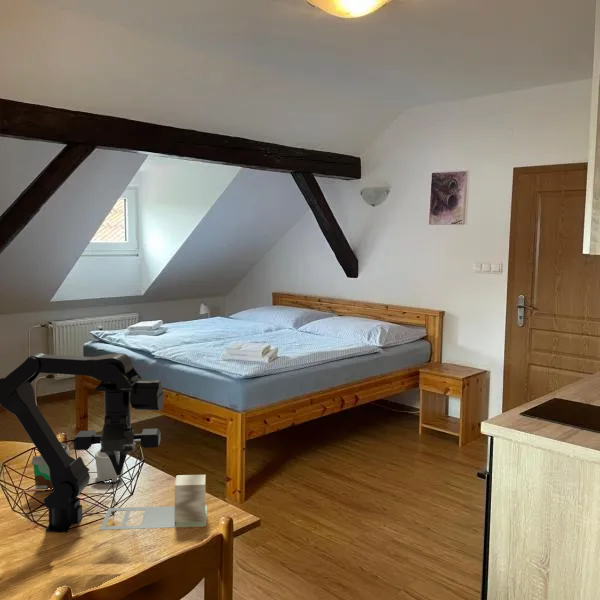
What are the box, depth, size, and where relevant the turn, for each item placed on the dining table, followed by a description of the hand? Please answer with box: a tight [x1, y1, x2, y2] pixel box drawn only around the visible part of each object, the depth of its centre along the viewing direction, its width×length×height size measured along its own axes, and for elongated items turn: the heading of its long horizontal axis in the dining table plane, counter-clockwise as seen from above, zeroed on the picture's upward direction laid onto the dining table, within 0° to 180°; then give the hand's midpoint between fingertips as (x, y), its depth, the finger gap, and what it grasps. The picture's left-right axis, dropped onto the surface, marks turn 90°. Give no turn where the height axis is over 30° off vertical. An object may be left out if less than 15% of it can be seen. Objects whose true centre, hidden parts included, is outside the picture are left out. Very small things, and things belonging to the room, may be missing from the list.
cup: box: [94, 449, 125, 484], centre depth 171 cm, size 11×8×8 cm
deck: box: [99, 504, 208, 531], centre depth 146 cm, size 24×11×2 cm, turn 97°
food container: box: [31, 441, 71, 490], centre depth 165 cm, size 12×6×10 cm, turn 168°
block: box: [174, 474, 207, 522], centre depth 146 cm, size 7×6×9 cm
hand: (118, 474), depth 141 cm, fingers closed
